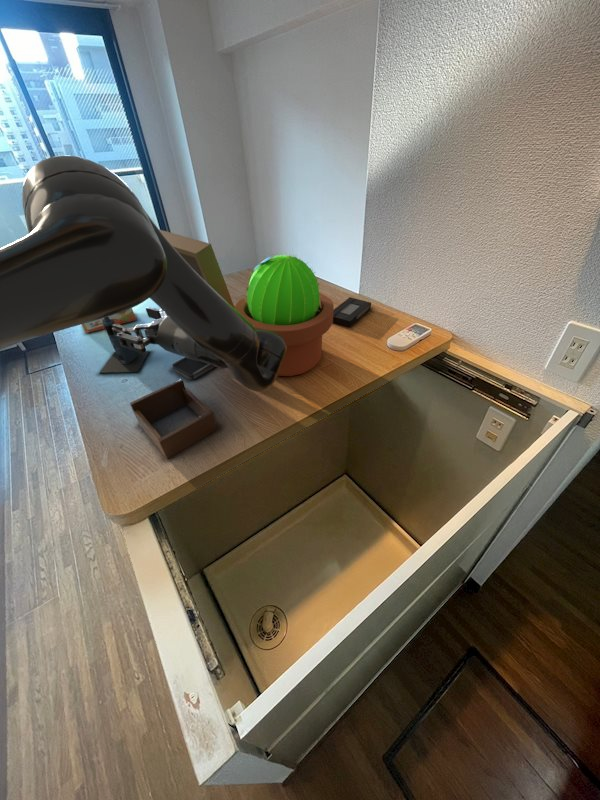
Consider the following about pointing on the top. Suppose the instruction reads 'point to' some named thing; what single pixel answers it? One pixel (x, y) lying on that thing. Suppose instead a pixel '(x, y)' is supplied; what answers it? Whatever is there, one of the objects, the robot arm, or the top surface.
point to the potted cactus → (289, 309)
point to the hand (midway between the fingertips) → (131, 319)
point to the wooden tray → (166, 403)
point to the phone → (191, 368)
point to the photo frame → (200, 261)
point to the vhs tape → (350, 311)
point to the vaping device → (122, 353)
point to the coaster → (117, 367)
